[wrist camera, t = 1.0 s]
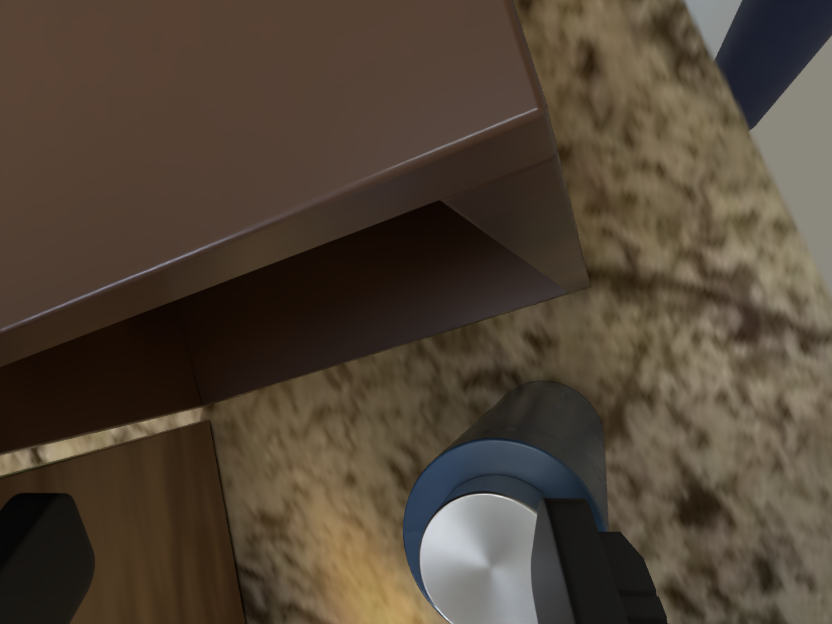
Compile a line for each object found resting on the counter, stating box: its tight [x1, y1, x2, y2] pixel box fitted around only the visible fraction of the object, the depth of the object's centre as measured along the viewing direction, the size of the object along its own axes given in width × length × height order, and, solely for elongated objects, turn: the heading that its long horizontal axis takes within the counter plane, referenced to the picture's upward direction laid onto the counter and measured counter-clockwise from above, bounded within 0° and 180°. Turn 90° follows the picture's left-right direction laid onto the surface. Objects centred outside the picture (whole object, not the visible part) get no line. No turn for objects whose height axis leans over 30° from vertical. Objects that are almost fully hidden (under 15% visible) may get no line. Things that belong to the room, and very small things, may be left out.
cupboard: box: [0, 0, 591, 455], centre depth 19 cm, size 16×22×24 cm
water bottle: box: [403, 381, 609, 624], centre depth 20 cm, size 5×5×14 cm
